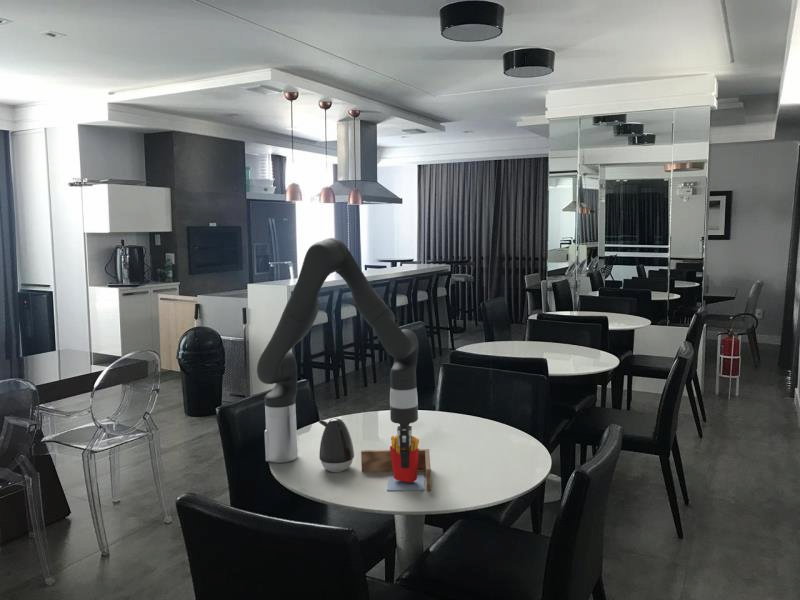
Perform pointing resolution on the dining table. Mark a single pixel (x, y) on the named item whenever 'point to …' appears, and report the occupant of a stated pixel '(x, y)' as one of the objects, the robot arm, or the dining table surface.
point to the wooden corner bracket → (383, 462)
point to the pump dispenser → (336, 446)
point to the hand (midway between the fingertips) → (405, 463)
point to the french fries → (411, 472)
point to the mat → (406, 484)
